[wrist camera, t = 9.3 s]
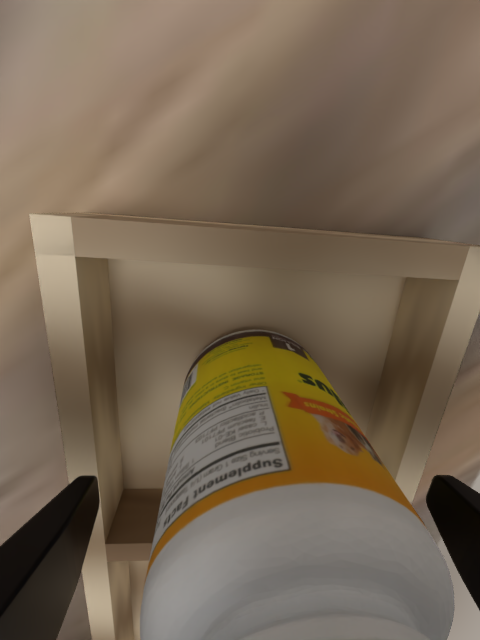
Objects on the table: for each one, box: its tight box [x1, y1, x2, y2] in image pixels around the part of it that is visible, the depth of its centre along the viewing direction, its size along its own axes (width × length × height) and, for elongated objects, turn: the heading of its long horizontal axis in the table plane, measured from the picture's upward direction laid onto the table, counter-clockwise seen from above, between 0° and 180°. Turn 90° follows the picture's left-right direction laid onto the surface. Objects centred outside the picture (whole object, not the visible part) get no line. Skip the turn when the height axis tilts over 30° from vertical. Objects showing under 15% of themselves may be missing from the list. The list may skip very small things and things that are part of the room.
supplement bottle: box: [140, 330, 454, 640], centre depth 8 cm, size 6×6×10 cm
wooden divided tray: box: [29, 213, 480, 640], centre depth 14 cm, size 25×13×4 cm, turn 176°
